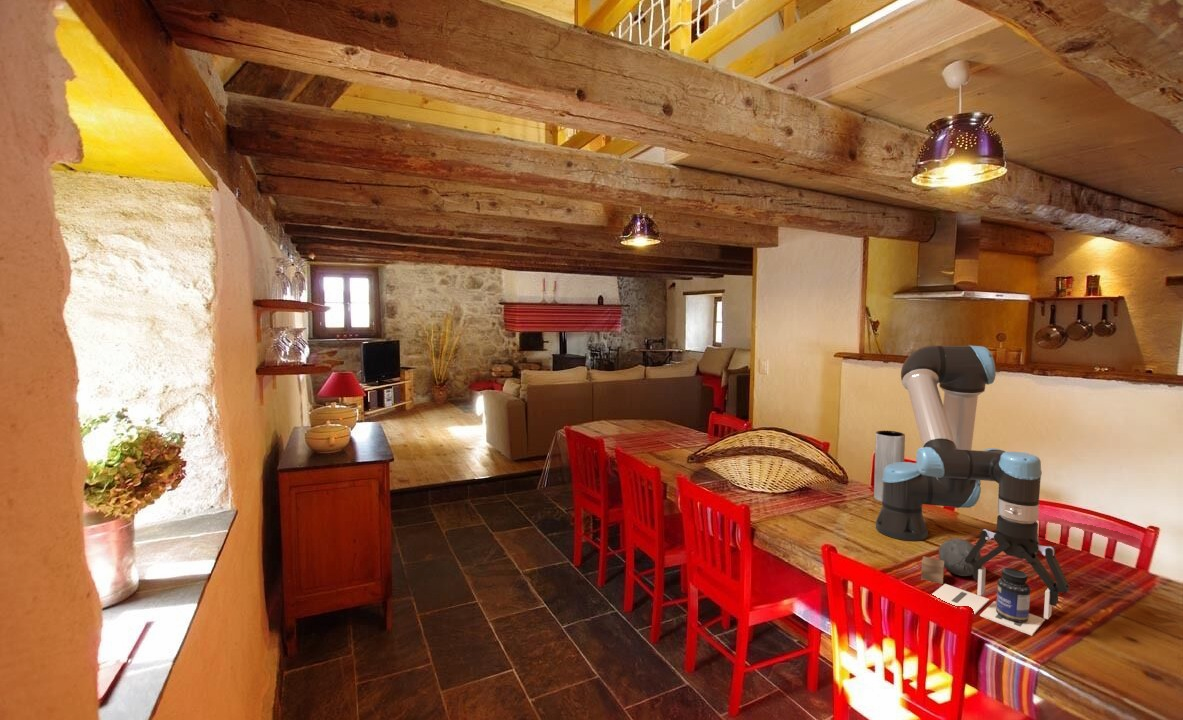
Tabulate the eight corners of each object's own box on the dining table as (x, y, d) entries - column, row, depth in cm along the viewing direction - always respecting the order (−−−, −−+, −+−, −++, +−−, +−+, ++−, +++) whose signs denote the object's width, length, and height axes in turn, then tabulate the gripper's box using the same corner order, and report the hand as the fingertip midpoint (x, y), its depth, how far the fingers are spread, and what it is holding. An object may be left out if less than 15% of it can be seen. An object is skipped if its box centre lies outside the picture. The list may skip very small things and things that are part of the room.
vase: (902, 505, 200) (904, 437, 198) (872, 501, 205) (874, 434, 203) (903, 498, 208) (905, 432, 206) (875, 493, 214) (876, 429, 212)
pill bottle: (989, 609, 128) (991, 566, 127) (1012, 608, 129) (1014, 565, 128) (1011, 624, 122) (1014, 579, 121) (1035, 622, 122) (1038, 578, 122)
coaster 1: (929, 597, 135) (929, 595, 135) (945, 585, 141) (945, 583, 141) (975, 614, 127) (975, 612, 127) (989, 600, 133) (989, 598, 133)
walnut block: (921, 580, 144) (921, 562, 144) (922, 573, 148) (923, 556, 148) (942, 585, 141) (943, 567, 141) (943, 578, 145) (944, 560, 145)
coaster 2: (979, 616, 126) (980, 614, 126) (994, 602, 132) (994, 600, 132) (1032, 635, 118) (1032, 633, 118) (1044, 620, 124) (1044, 618, 124)
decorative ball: (946, 580, 144) (947, 545, 143) (932, 564, 153) (933, 531, 152) (988, 584, 141) (989, 549, 140) (971, 567, 150) (973, 534, 150)
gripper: (952, 507, 131) (948, 588, 133) (1082, 539, 111) (1076, 634, 113) (963, 500, 135) (960, 579, 137) (1091, 530, 116) (1085, 622, 117)
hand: (1012, 604), depth 125 cm, fingers open, 12 cm apart
